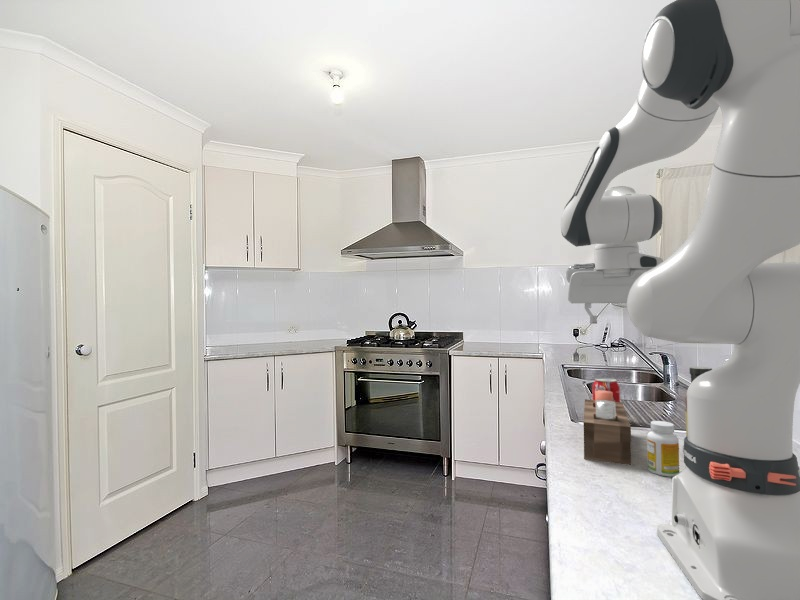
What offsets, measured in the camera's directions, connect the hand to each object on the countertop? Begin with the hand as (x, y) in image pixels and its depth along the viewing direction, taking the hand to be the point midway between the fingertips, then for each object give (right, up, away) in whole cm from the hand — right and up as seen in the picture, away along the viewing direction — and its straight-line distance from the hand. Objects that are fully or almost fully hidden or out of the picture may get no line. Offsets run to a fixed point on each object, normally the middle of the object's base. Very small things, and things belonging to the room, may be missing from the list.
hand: (616, 323), depth 92 cm
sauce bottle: (+17, -29, -4) cm, 34 cm away
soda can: (+11, -30, +27) cm, 42 cm away
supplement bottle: (+4, -29, -10) cm, 31 cm away
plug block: (+1, -29, +6) cm, 30 cm away
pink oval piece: (+3, -25, +12) cm, 28 cm away
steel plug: (-2, -25, +1) cm, 25 cm away
